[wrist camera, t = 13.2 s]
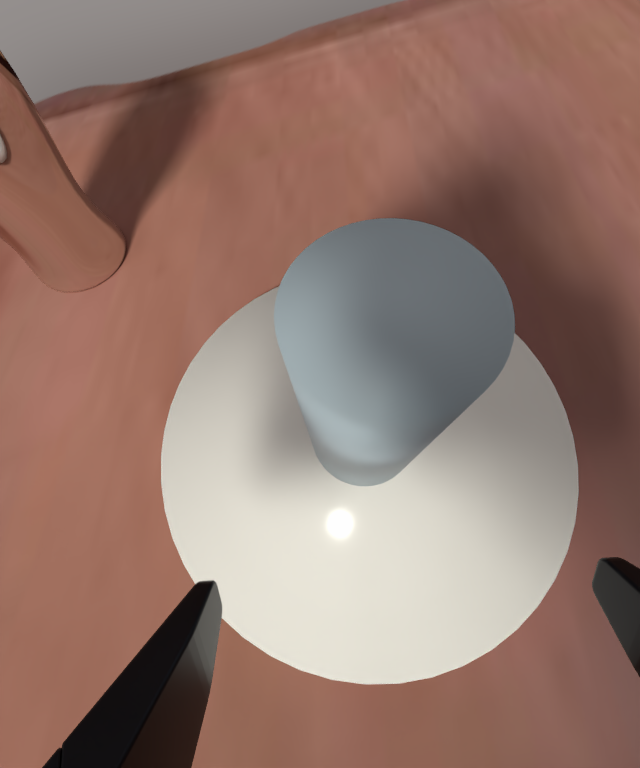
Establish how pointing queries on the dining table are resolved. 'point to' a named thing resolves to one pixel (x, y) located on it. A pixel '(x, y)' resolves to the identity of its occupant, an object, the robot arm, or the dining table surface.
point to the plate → (365, 516)
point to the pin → (389, 340)
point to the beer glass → (48, 201)
